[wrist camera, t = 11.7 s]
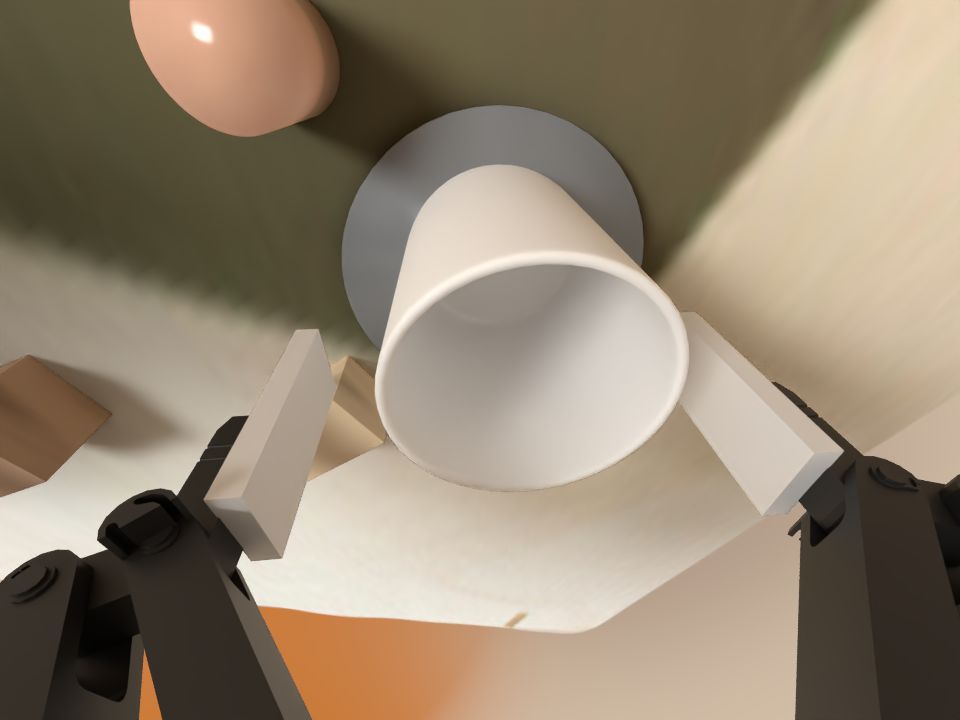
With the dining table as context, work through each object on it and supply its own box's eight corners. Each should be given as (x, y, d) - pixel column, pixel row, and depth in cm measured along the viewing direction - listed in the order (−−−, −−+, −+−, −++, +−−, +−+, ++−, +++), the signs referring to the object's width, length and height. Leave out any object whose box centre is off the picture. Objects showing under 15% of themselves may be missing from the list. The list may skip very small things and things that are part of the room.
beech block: (323, 432, 26) (307, 481, 23) (276, 397, 24) (251, 446, 21) (392, 395, 25) (384, 442, 21) (348, 353, 22) (332, 400, 19)
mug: (488, 391, 24) (509, 560, 15) (358, 343, 21) (300, 518, 13) (616, 218, 18) (761, 345, 9) (457, 117, 15) (468, 172, 7)
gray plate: (373, 390, 24) (371, 398, 23) (308, 105, 15) (302, 106, 14) (604, 379, 25) (608, 387, 24) (676, 103, 16) (686, 105, 15)
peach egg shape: (247, 120, 15) (177, 137, 11) (203, -21, 13) (93, -64, 9) (349, 119, 15) (316, 136, 11) (325, -19, 13) (272, -59, 9)
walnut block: (51, 435, 24) (-25, 506, 20) (-37, 381, 22) (-146, 451, 18) (113, 413, 24) (45, 481, 20) (30, 353, 21) (-69, 420, 17)
